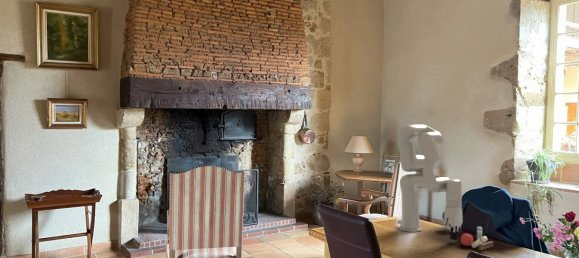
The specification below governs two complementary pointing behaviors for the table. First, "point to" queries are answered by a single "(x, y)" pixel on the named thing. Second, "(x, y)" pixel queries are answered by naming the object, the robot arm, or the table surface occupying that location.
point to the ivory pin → (479, 241)
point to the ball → (466, 239)
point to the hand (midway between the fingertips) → (453, 239)
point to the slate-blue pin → (479, 232)
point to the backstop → (486, 245)
